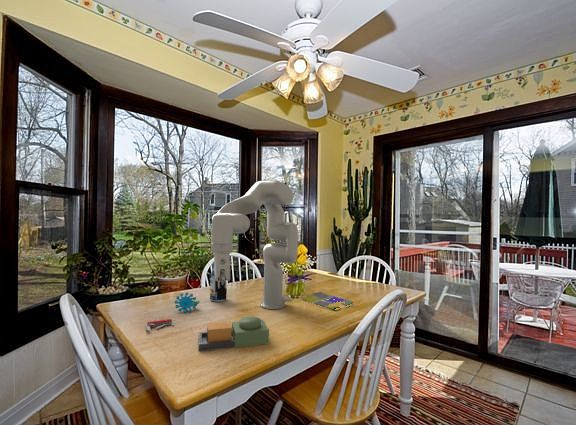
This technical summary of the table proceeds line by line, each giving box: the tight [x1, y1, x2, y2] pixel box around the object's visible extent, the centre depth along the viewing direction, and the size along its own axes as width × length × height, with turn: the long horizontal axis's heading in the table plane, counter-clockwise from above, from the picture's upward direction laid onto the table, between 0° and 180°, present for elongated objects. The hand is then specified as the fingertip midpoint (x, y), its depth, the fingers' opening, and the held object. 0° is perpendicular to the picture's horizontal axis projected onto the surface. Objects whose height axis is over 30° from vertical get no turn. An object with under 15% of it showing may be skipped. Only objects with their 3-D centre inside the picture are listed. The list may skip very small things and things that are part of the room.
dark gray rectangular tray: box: [197, 331, 236, 352], centre depth 103 cm, size 12×10×2 cm
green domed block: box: [231, 316, 270, 348], centre depth 107 cm, size 12×10×7 cm
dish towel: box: [301, 291, 354, 311], centre depth 155 cm, size 18×24×3 cm
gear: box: [174, 292, 201, 313], centre depth 136 cm, size 11×6×10 cm
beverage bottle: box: [209, 261, 228, 303], centre depth 153 cm, size 8×8×20 cm
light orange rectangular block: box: [206, 321, 232, 342], centre depth 103 cm, size 8×6×5 cm
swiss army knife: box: [146, 317, 177, 332], centre depth 117 cm, size 12×14×2 cm
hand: (220, 295), depth 104 cm, fingers open, 9 cm apart
